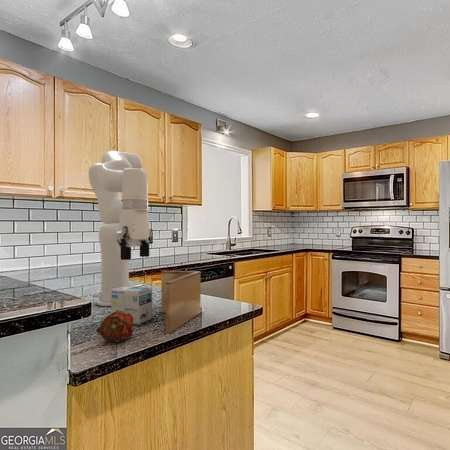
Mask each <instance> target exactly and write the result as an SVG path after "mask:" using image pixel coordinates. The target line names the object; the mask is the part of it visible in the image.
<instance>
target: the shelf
mask: <svg viewBox="0 0 450 450" xmlns="http://www.w3.org/2000/svg"><path fill="white" fill-rule="evenodd" d="M201 274H202V272H201V271H197V270H194V271H193V270H191V271H190V270H162V271H160V275H161V276H160V277H161V283H160V286H161V288H160V289H161V292H160V293H161V295H160V296H161V299H160V302H161V307H160V308H161V309H160V311H161V313H165V333H168V334H170V333H171V332H173V331H175V330H176V329H178V328H180V327H181V326H183V325H184V324H186V323H188V322H189V321H191V320H192V319H194V318H195V317H197V316H198V315H200V314H201V313H202V312H201V306H202V305H201V302H202V301H201V299H202V298H201Z"/></svg>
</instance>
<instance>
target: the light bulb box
mask: <svg viewBox="0 0 450 450" xmlns="http://www.w3.org/2000/svg"><path fill="white" fill-rule="evenodd" d="M118 310H119V311H124V312H125V314H127V313H129V314H131V315H132V316H133V318H134V319H133V325H141V324H143V323H145V322H148V321H150V320H153V317H154V316H153V312H154V311H153V287H152V286H131V285H129V286H124V287H120V288H115V289H111V306H110V314H112V313H114V312H115V311H118Z"/></svg>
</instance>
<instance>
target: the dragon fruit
mask: <svg viewBox="0 0 450 450" xmlns="http://www.w3.org/2000/svg"><path fill="white" fill-rule="evenodd" d="M133 319H134V318H133V316H132V315H131V314H129V313H127V314H125V312H124V311H119V310H118V311H115V312H114V313H112V314H111V313H110V314H107V316H105V317H104V318H103V319H102V321H101V323H99V326H98V327H96V328H95V332H96V333H97V334H99V335H100V337H101V338H102V339H103V340H105V341H107V342H110V341H111V342H114V343H121V342H122V341H123V340H124V339H126V338H130V337H131V336H132V335H133V333H134V330H135V327H134V326H135V324H133Z"/></svg>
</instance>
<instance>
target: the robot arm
mask: <svg viewBox="0 0 450 450" xmlns="http://www.w3.org/2000/svg"><path fill="white" fill-rule="evenodd" d="M143 167H144V165H143V160H142V157H141V156H140V155H139V154H138V153H134V152H127V151H121V150H120V151H119V150H108V151H106V152H104V153H103V154H102V156H101V163H100V162H97V163H93V164H92V165H90V167H89V168H88V181H89V184H90V187H91V189H92V191H93V193H94V195H95V196H96V199H97V205H98V211H99V218H100V220H101V223H102V224H103V225H102V226H100V227H99V229H98V240H99V245H100V260H101V266H100V267H101V268H100V269H101V273H100V274H101V276H100V277H101V279H100V281H101V283H100V285H101V291H95V292H94V293H93V298H98V300H97V301H96V305H97V306H101V307H111V289H115V288H120V287H124V286H130V264H129V263H130V260H131V259H132V248H133V247H139V257H140V258H148V257H150V246H151V241H152V236H153V232H152V231H151V230H150V219H149V212H148V211H149V190H148V189H149V186H148V184H149V183H148V181H149V179H148V176H149V175H148V171H146V170H145V169H144V168H143ZM120 193H121V195H120Z"/></svg>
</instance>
